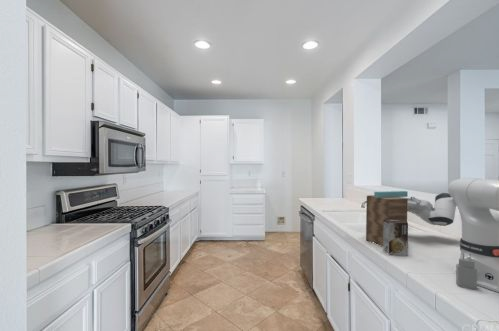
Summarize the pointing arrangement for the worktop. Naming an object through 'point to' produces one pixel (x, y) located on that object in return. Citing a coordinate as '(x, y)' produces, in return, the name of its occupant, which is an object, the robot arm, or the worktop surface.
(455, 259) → the worktop surface
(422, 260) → the worktop surface
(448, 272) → the worktop surface
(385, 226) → the coffee box
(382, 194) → the teal bar
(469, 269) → the power adapter
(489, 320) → the worktop surface
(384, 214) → the walnut stand
